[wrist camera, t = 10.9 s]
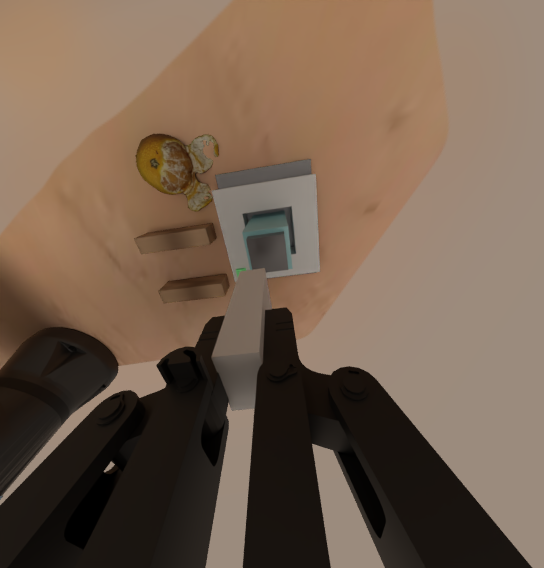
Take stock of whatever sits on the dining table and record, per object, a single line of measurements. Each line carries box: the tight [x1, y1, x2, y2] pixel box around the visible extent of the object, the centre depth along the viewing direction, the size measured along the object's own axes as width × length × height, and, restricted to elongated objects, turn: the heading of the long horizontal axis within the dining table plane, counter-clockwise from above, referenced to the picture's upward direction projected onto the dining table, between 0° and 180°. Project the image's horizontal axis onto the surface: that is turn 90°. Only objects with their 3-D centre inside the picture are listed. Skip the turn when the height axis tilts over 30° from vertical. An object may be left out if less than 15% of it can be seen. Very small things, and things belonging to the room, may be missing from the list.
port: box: [212, 159, 320, 282], centre depth 25 cm, size 11×14×4 cm
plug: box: [242, 211, 293, 273], centre depth 22 cm, size 4×4×10 cm
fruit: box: [136, 134, 219, 211], centre depth 23 cm, size 8×8×4 cm
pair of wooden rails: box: [134, 223, 229, 303], centre depth 28 cm, size 9×9×3 cm
